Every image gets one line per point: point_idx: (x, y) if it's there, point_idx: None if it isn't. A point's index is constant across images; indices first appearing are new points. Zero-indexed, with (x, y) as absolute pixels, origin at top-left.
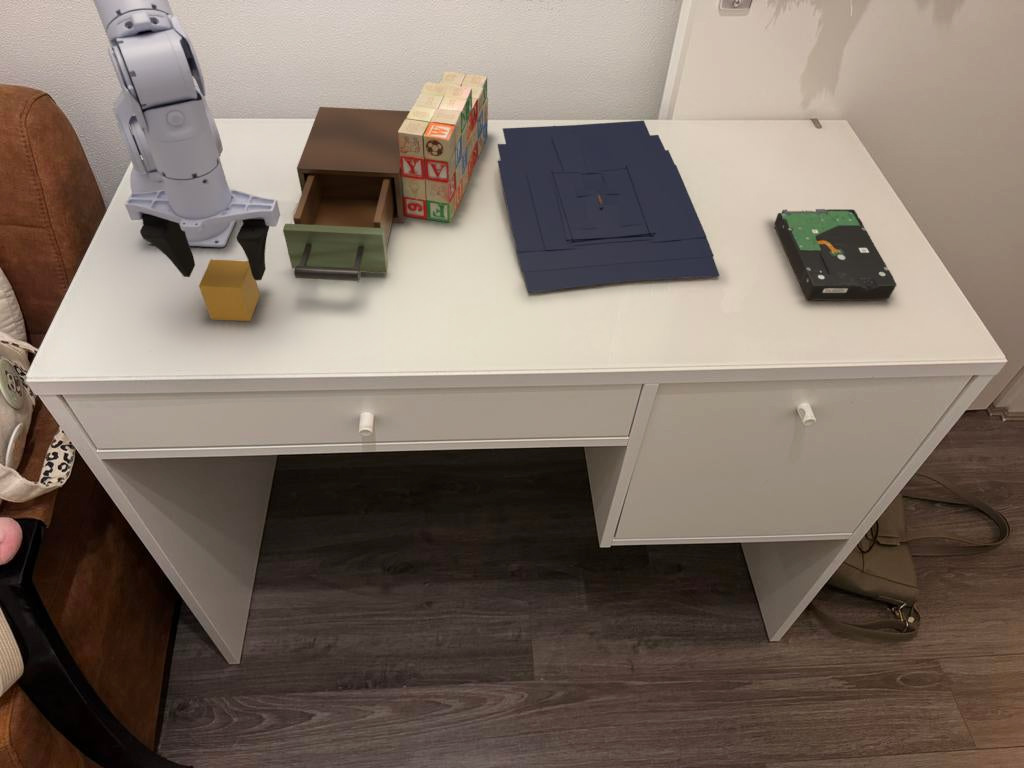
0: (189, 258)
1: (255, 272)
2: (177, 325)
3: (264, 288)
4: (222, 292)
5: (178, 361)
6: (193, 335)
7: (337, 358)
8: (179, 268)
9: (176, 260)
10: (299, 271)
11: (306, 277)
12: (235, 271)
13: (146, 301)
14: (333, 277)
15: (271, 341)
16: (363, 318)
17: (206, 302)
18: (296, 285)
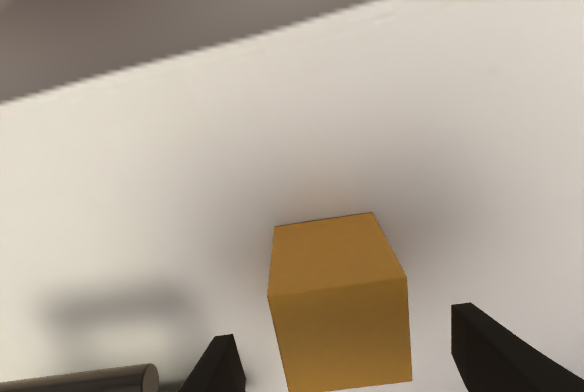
0: (473, 375)
1: (206, 361)
2: (450, 175)
3: None
4: (329, 272)
5: (401, 49)
6: (396, 151)
7: (2, 156)
8: (494, 326)
9: (517, 358)
10: (127, 388)
11: (113, 371)
12: (314, 353)
13: (554, 234)
14: (34, 385)
15: (192, 175)
16: (25, 287)
17: (382, 240)
18: None
